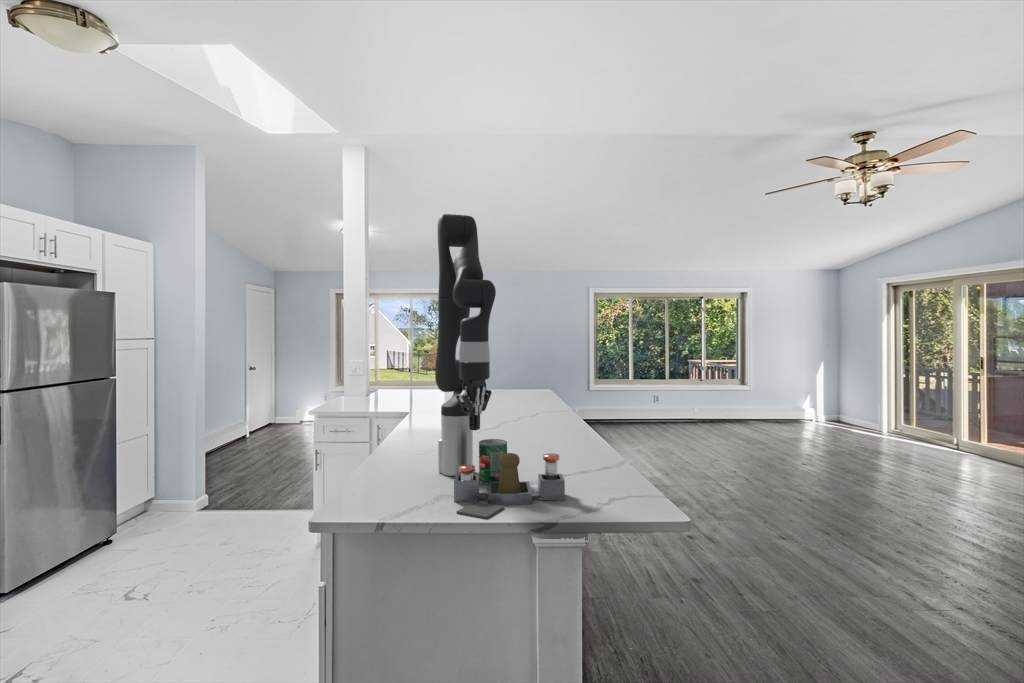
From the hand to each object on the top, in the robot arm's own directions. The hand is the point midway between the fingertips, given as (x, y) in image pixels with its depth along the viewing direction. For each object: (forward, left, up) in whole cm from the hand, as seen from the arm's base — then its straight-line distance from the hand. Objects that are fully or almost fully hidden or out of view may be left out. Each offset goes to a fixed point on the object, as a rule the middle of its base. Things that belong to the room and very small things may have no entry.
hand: (474, 429), depth 133 cm
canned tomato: (-4, +15, -17) cm, 23 cm away
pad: (+6, -8, -17) cm, 20 cm away
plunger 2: (+16, +10, -13) cm, 23 cm away
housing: (+7, +4, -17) cm, 19 cm away
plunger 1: (-2, -1, -16) cm, 16 cm away
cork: (+7, +4, -17) cm, 19 cm away
